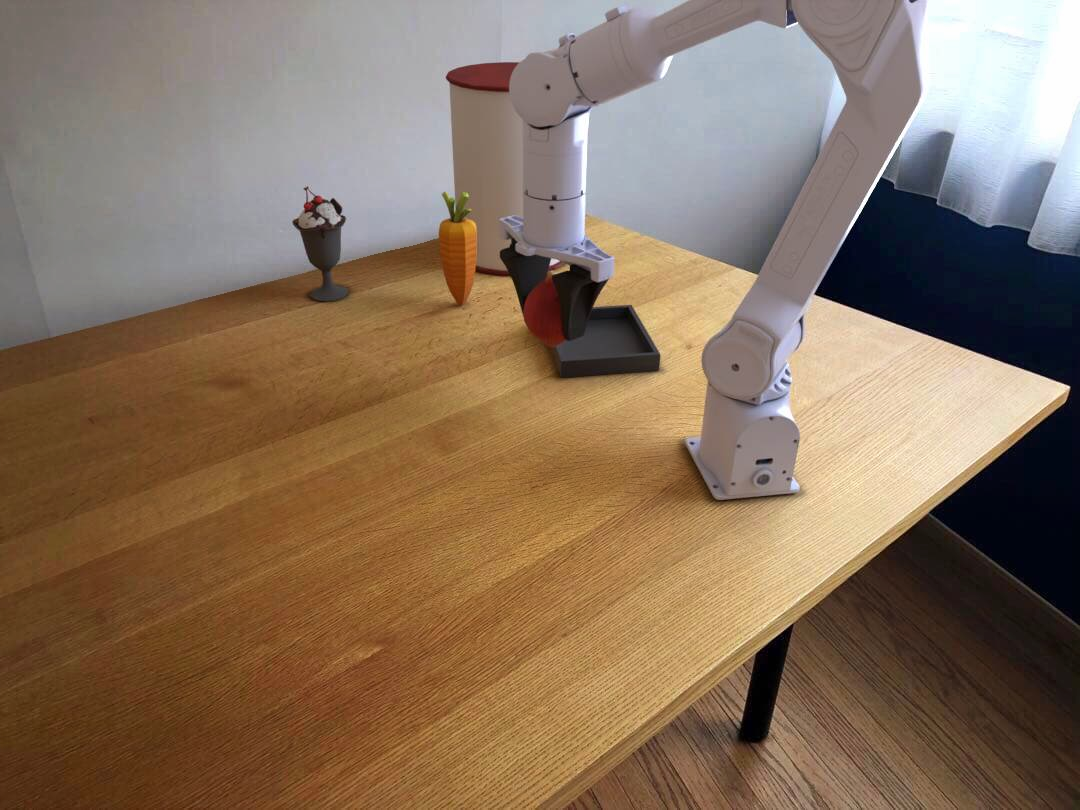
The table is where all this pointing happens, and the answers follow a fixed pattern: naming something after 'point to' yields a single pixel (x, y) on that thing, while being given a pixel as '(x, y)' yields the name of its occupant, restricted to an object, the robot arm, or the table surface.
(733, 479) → the robot arm
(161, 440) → the table surface
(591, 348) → the tray
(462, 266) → the carrot
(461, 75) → the container
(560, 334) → the onion
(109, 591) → the table surface
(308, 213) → the sundae
